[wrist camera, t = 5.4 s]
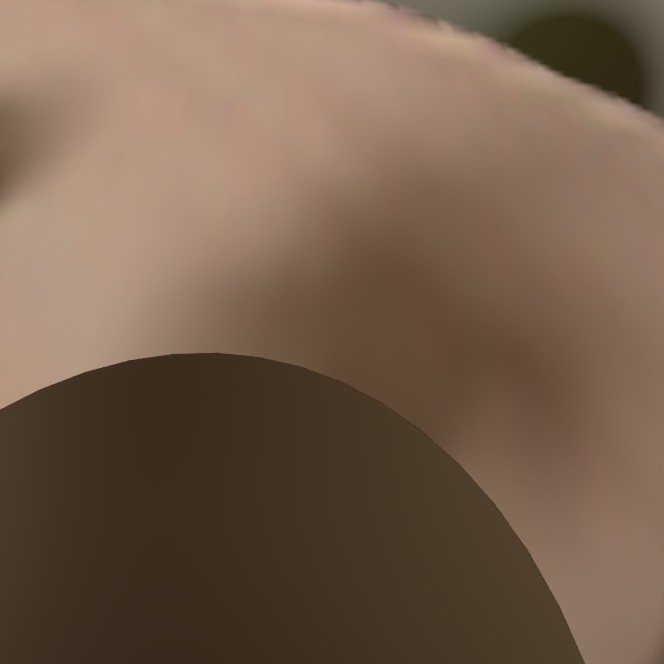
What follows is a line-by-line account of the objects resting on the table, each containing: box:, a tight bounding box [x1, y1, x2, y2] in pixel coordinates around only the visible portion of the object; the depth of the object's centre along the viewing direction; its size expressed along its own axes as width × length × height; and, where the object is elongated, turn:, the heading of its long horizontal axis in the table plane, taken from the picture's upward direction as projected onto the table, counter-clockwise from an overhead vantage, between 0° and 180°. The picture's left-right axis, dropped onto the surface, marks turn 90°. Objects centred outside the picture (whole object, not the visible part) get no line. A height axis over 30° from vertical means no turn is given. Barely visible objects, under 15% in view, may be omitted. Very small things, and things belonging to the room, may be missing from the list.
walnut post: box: [0, 353, 585, 664], centre depth 8 cm, size 6×6×13 cm
